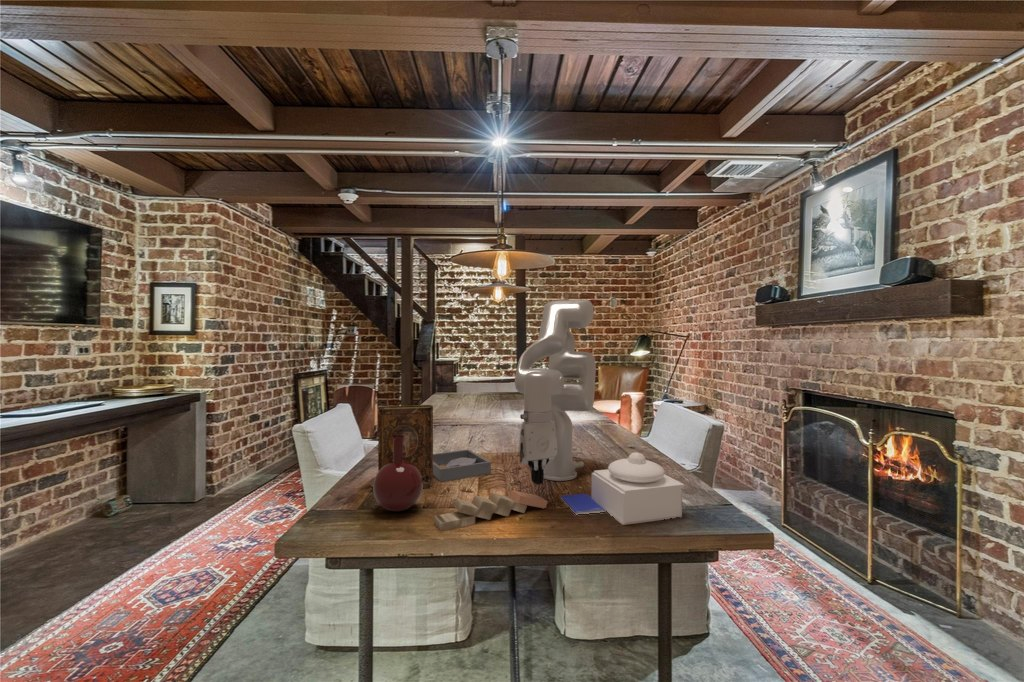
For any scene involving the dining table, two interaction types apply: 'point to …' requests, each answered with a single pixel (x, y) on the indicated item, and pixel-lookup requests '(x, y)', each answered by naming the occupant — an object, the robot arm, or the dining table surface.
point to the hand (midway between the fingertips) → (537, 482)
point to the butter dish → (637, 491)
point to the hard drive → (582, 504)
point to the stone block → (461, 462)
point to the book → (408, 437)
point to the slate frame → (461, 471)
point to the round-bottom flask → (398, 481)
